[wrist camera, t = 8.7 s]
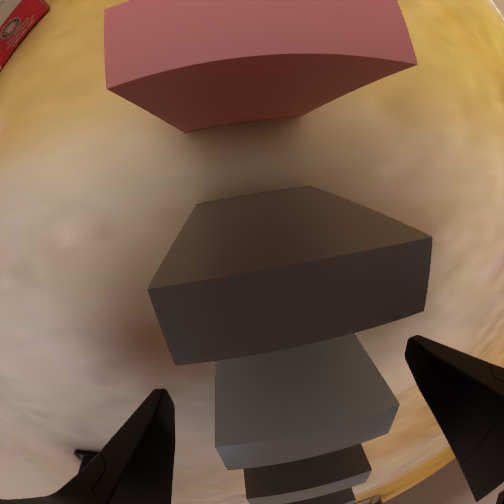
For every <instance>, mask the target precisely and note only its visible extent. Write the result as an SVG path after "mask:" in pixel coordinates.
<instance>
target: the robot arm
mask: <svg viewBox="0 0 504 504" xmlns="http://www.w3.org/2000/svg"><path fill="white" fill-rule="evenodd" d="M405 359H406V361H407V363H408V366H409V368H410V370H411V372H412V374H413V377H414V379H415V381H416V383H417V386H418V388H419V390H420V392H421V393H422V395H423V397H424V399H425V400H426V402H427V404H428V406H429V407H430V409H431V411H432V413H433V415H434V416H435V418H436V420H437V422H438V424H439V426H440V427H441V429H442V431H443V433H444V435H445V437H446V439H447V441H448V443H449V445H450V447H451V449H452V451H453V453H454V455H455V457H456V459H457V461H458V463H459V465H460V467H461V469H462V471H463V474H464V475H465V478H466V480H467V482H468V485H469V487H470V489H471V491H472V493H473V495H474V498H475V500H476V502H478V501H479V500H480V499H482V498H483V497H485V496H486V495H487V494H489V493H490V492H491V491H493V490H494V489H495V488H497V487H498V486H499V485H500V484H502V483H503V482H504V368H502V367H499V366H497V365H494V364H491V363H488V362H486V361H484V360H481V359H478V358H476V357H473V356H471V355H468V354H465V353H463V352H460V351H458V350H455V349H453V348H450V347H448V346H445V345H443V344H440V343H438V342H435V341H433V340H430V339H428V338H425V337H422V336H420V335H415V336H413V337H410V338H409V339H408V341H407V346H406V351H405ZM174 454H175V408H174V403H173V401H172V399H171V397H170V395H169V393H168V392H167V390H166V389H164V388H162V389H154V390H153V391H152V392H151V393H150V395H149V396H148V397H147V398H146V399H145V400H144V402H143V403H142V404H141V405H140V406H139V407H138V409H137V410H136V411H135V412H134V413H133V414H132V415H131V417H130V418H129V419H128V420H127V421H126V422H125V423H124V425H123V426H122V427H121V428H120V429H119V430H118V431H117V433H116V434H115V435H114V436H113V437H112V438H111V439H110V441H109V442H108V443H107V444H106V445H105V446H104V447H103V448H102V450H101V451H100V452H99V453H98V454H94V453H88V452H83V451H78V450H75V451H74V455H75V456H76V457H77V458H78V459H80V460H81V461H82V462H81V465H80V468H79V472H78V474H77V475H76V476H75V477H74V478H72V479H71V480H70V481H69V482H68V483H67V484H65V485H64V486H63V487H62V488H61V489H60V490H58V491H57V492H55V493H53V494H51V495H49V496H44V497H36V498H26V499H12V500H3V499H0V504H171V496H172V480H173V466H174ZM496 504H504V490H503V491H501V492H500V493H499V495H498V499H497V502H496Z"/></svg>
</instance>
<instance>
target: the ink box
mask: <svg viewBox="0 0 504 504" xmlns="http://www.w3.org/2000/svg"><path fill="white" fill-rule="evenodd" d="M48 7H49V6H48V4H47V3H46V2H45V1H44V0H0V70H1V68H2V67H3V65H4V64H5V62H6V61H7V59H8V58H9V56H10V55H11V54H12V52H13V51H14V49H15V48H16V47H17V45H18V44H19V43H20V41H21V40H22V39H23V38H24V36H25V35H26V34H27V33H28V31H29V30H30V29H31V28H32V27H33V25H34V24H35V23H36V22H37V21H38V20H39V19H40V17H41V16H42V15H43V14H44V13H45V12H46V11H47V10H48Z"/></svg>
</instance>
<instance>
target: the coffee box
mask: <svg viewBox="0 0 504 504" xmlns="http://www.w3.org/2000/svg"><path fill="white" fill-rule="evenodd" d="M355 504H383V503H382V501H381V498H380V495H377V496H374V497H371V498H369V499H366V500H363V501H360V502H358V503H355Z"/></svg>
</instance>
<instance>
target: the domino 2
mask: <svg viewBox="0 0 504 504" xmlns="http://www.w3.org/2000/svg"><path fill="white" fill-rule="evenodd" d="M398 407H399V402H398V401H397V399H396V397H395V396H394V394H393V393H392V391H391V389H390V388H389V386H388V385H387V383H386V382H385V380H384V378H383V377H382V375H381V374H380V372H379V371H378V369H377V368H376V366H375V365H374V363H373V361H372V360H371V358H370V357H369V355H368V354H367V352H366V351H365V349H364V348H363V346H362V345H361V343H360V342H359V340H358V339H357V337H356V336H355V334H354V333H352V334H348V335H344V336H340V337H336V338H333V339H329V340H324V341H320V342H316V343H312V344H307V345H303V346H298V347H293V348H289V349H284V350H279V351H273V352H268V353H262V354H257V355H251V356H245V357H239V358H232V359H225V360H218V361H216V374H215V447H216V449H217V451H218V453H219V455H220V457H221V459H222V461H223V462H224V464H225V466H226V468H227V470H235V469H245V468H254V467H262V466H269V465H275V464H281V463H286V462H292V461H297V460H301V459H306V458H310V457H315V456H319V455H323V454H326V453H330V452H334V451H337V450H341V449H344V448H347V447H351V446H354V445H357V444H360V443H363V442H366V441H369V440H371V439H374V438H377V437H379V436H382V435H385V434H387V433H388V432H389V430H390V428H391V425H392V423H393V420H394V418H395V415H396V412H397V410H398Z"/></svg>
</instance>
